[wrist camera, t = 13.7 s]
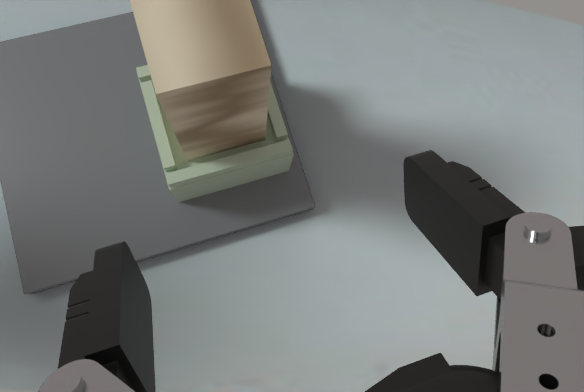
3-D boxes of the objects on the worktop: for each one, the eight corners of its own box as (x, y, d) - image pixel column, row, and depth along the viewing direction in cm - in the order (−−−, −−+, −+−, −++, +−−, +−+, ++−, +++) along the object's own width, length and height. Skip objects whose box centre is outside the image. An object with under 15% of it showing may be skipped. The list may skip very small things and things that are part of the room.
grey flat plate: (31, 293, 32) (24, 293, 31) (-20, 55, 35) (-28, 48, 34) (313, 208, 35) (315, 206, 34) (242, -5, 38) (242, -14, 37)
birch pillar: (187, 161, 29) (155, 94, 20) (167, 88, 30) (127, -11, 20) (265, 139, 30) (271, 65, 20) (242, 69, 31) (238, -35, 21)
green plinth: (178, 202, 33) (166, 186, 28) (150, 98, 34) (133, 66, 29) (288, 170, 34) (294, 150, 29) (256, 70, 35) (257, 36, 31)
